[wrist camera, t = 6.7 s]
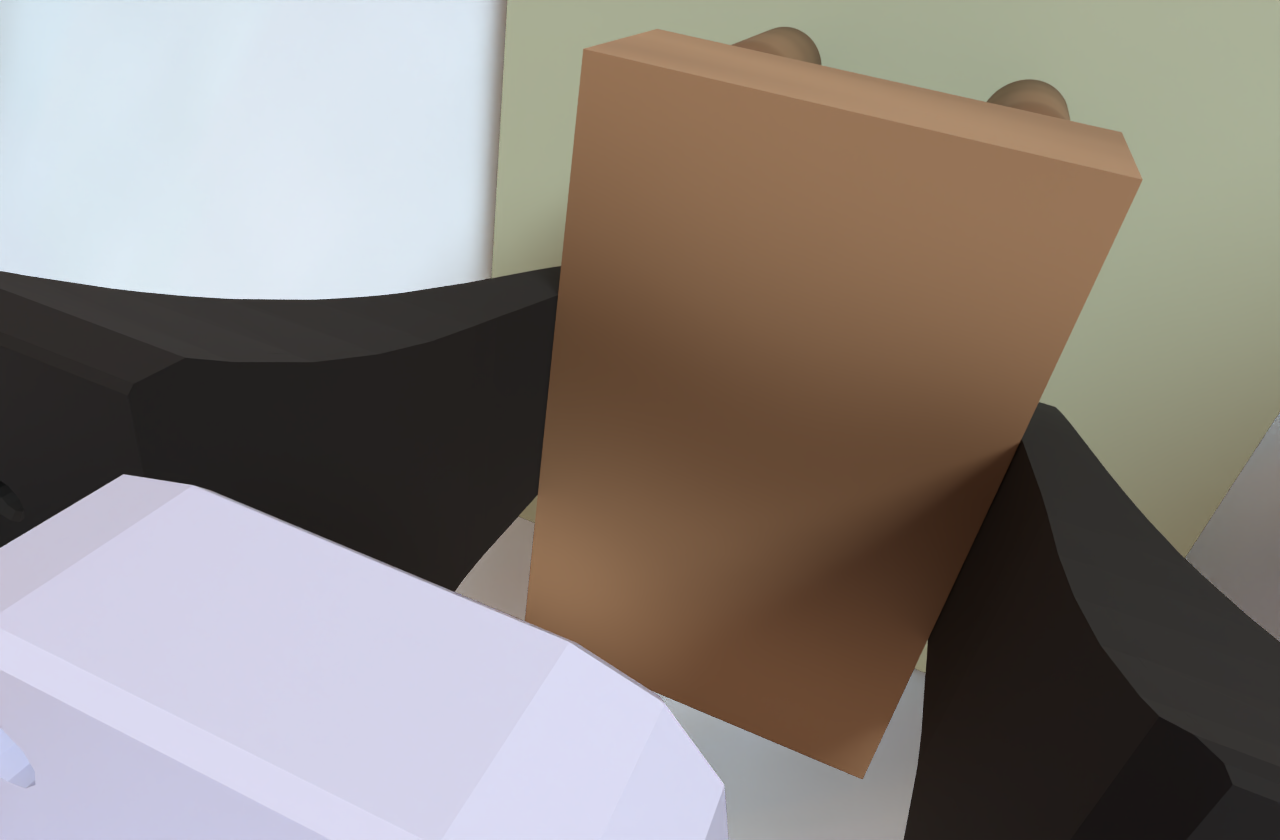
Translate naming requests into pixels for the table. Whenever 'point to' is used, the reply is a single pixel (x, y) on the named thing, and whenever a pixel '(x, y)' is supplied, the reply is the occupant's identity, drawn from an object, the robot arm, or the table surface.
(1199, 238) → the mat
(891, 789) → the table surface
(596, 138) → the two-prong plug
